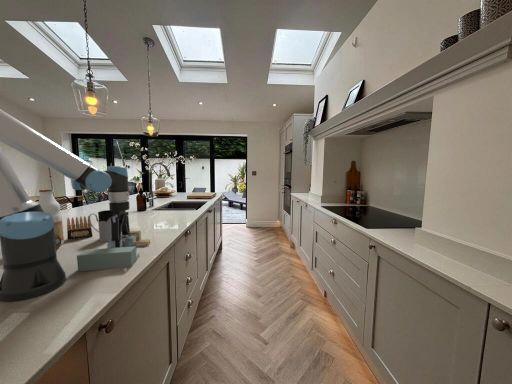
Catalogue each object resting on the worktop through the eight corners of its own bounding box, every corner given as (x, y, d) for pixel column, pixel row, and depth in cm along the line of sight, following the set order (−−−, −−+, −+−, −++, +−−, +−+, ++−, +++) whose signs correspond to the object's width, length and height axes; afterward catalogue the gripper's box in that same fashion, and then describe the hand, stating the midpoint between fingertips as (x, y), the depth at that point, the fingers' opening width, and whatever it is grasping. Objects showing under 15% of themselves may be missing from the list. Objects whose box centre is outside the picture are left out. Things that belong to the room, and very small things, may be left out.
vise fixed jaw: (131, 266, 84) (130, 251, 84) (78, 271, 81) (76, 255, 80) (139, 256, 94) (138, 243, 94) (92, 260, 90) (90, 246, 90)
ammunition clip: (92, 236, 124) (91, 215, 123) (92, 236, 123) (90, 215, 122) (68, 239, 119) (66, 217, 117) (67, 240, 117) (65, 218, 116)
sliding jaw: (148, 245, 108) (147, 233, 107) (107, 248, 104) (106, 236, 103) (151, 241, 115) (151, 230, 114) (113, 243, 111) (112, 232, 110)
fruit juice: (55, 248, 105) (49, 189, 102) (32, 249, 103) (26, 190, 100) (68, 241, 114) (63, 188, 111) (48, 243, 112) (42, 188, 110)
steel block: (133, 253, 98) (132, 238, 98) (108, 255, 96) (107, 239, 95) (136, 250, 102) (135, 235, 101) (112, 252, 100) (111, 237, 99)
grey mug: (110, 241, 115) (108, 213, 114) (84, 241, 115) (82, 213, 114) (121, 236, 124) (119, 209, 122) (96, 236, 124) (94, 209, 123)
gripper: (119, 204, 88) (123, 259, 90) (135, 198, 107) (138, 244, 109) (98, 205, 86) (102, 261, 88) (118, 198, 106) (121, 245, 108)
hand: (122, 251), depth 99 cm, fingers open, 7 cm apart
